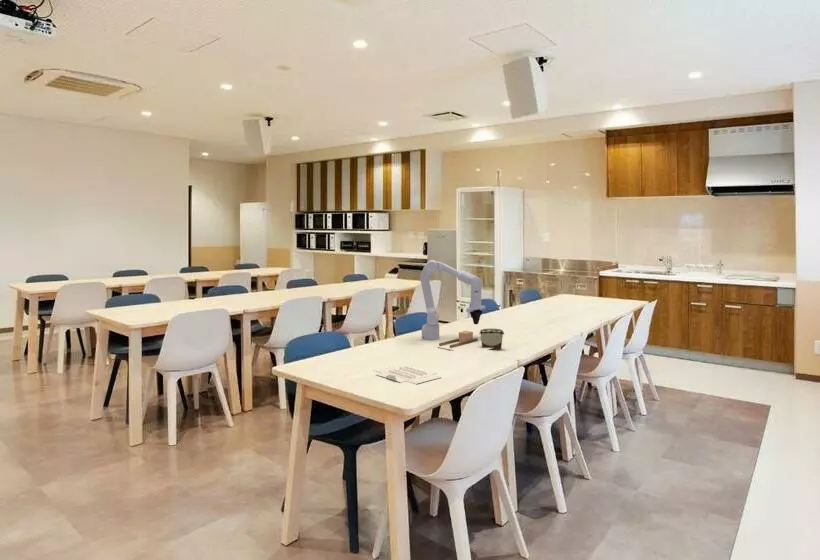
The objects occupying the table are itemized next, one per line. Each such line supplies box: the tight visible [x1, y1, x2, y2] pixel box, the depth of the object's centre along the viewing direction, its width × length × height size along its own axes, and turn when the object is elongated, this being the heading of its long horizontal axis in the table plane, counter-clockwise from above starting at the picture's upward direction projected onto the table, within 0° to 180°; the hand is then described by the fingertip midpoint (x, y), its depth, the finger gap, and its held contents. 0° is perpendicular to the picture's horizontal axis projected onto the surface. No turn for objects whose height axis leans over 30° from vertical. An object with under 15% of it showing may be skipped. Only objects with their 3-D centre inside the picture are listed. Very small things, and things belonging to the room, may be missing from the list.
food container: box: [478, 328, 505, 351], centre depth 270 cm, size 12×6×10 cm, turn 84°
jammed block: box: [458, 330, 474, 343], centre depth 283 cm, size 5×6×5 cm
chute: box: [437, 337, 479, 352], centre depth 279 cm, size 10×22×2 cm, turn 137°
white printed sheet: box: [373, 364, 442, 385], centre depth 225 cm, size 20×28×4 cm
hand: (476, 324), depth 289 cm, fingers closed
